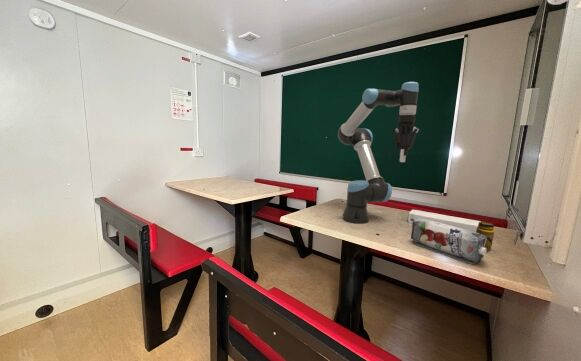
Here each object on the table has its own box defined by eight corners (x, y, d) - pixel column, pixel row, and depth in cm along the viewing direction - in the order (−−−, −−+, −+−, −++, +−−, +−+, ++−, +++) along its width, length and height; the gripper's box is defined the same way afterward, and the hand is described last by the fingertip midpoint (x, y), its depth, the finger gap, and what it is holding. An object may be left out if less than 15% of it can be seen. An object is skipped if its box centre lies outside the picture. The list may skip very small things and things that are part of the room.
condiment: (494, 253, 100) (499, 226, 98) (471, 249, 103) (475, 223, 101) (487, 246, 106) (492, 221, 105) (465, 243, 109) (469, 219, 108)
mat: (414, 244, 106) (414, 242, 106) (427, 238, 113) (427, 237, 113) (472, 265, 89) (472, 263, 89) (482, 257, 96) (483, 255, 96)
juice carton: (420, 216, 112) (492, 235, 90) (418, 237, 113) (488, 260, 92) (411, 219, 107) (485, 239, 85) (409, 241, 108) (481, 266, 87)
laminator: (479, 232, 126) (481, 221, 125) (480, 238, 117) (482, 227, 116) (411, 218, 147) (412, 209, 146) (406, 223, 137) (407, 213, 136)
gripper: (391, 115, 120) (386, 161, 123) (416, 113, 109) (411, 163, 113) (399, 116, 124) (394, 160, 128) (424, 114, 114) (418, 162, 117)
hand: (402, 161), depth 120 cm, fingers closed
